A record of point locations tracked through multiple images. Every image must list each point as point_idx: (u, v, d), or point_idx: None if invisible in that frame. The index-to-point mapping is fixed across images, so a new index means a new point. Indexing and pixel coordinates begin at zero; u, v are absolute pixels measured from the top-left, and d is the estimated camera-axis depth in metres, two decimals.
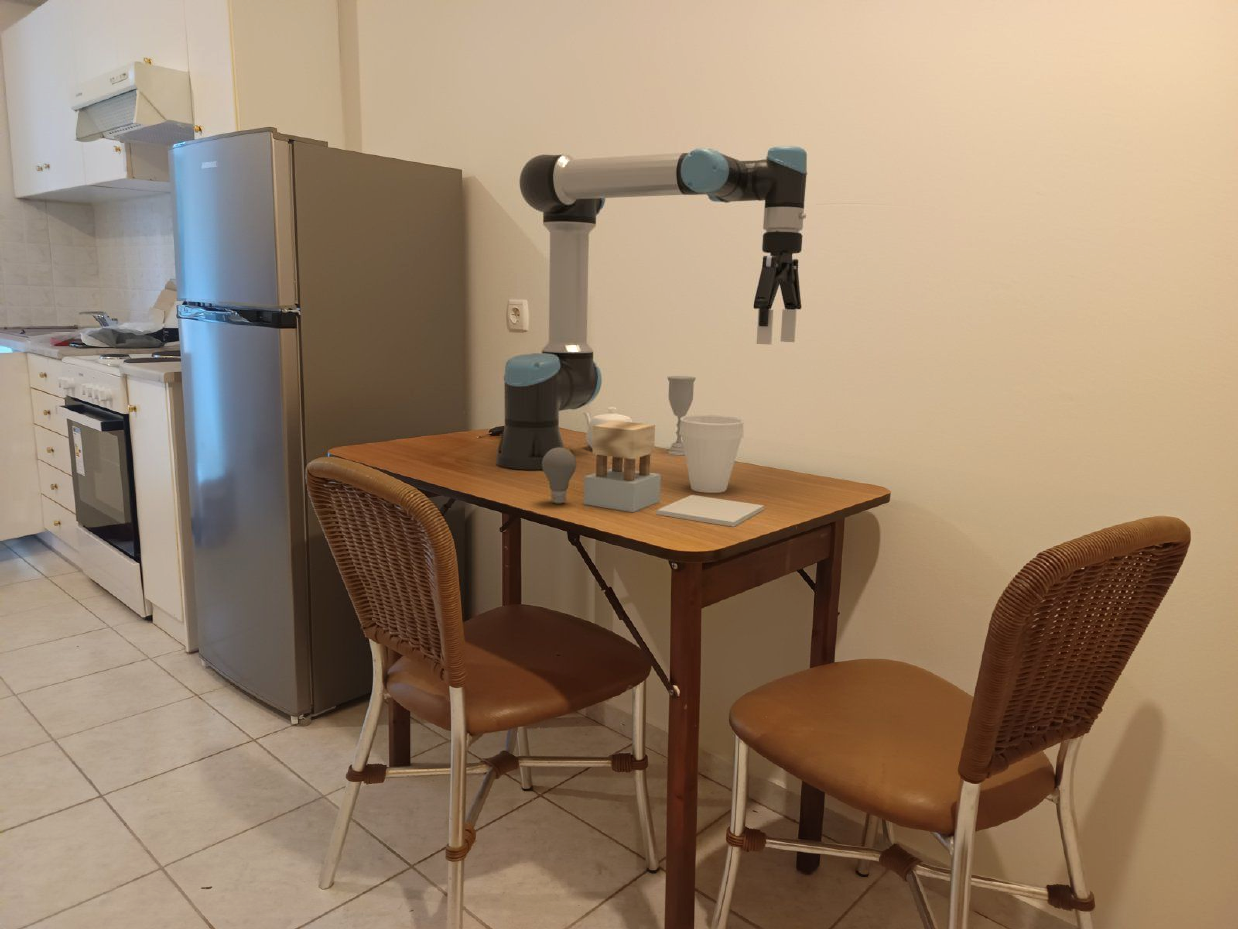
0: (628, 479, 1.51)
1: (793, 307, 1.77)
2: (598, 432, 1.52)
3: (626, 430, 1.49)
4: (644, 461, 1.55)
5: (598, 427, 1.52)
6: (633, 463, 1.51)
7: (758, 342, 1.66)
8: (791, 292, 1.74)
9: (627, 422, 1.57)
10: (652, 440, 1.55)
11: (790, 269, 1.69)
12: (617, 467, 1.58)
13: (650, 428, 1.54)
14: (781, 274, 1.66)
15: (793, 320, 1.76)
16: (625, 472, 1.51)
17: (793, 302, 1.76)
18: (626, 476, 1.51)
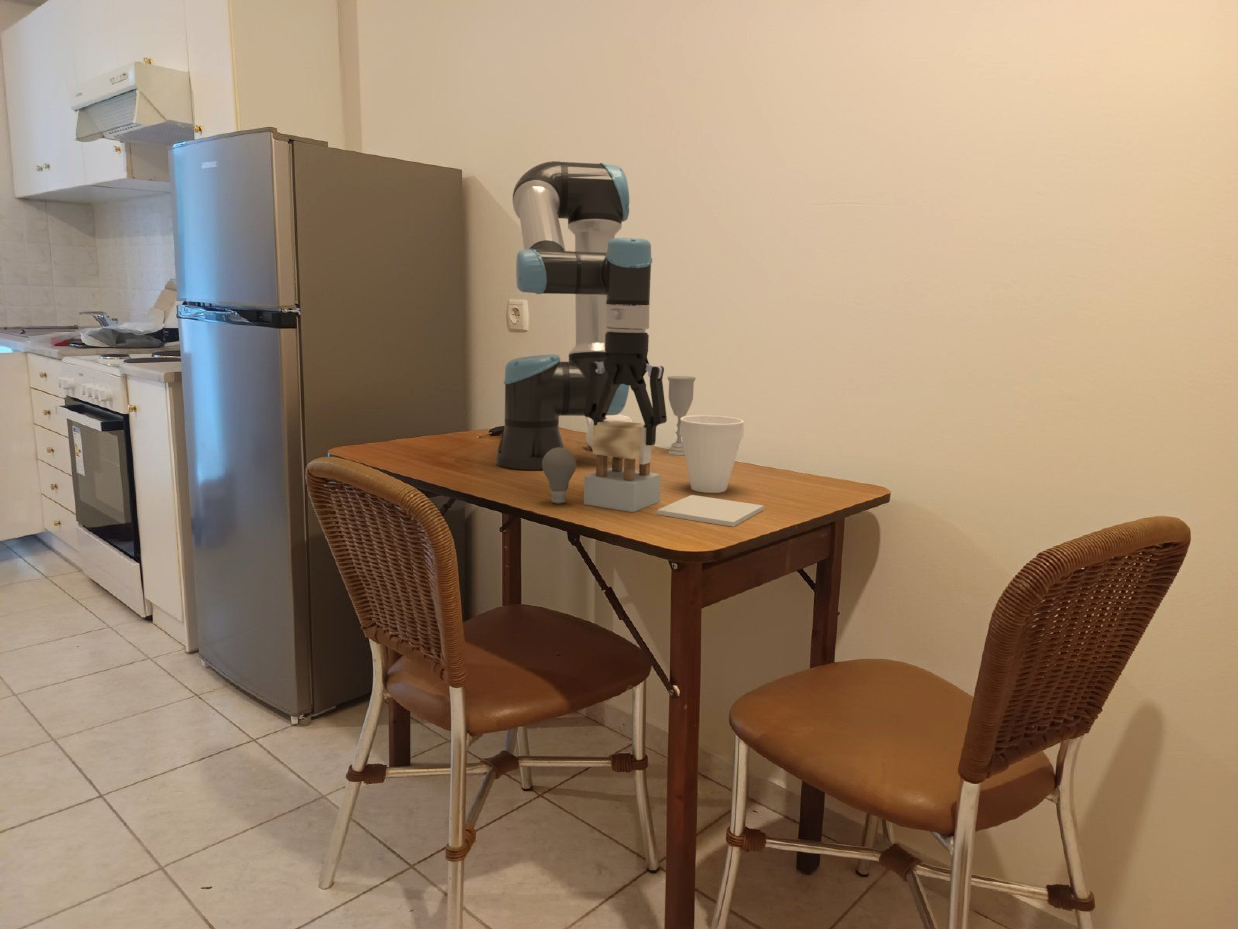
0: (628, 479, 1.51)
1: None
2: (598, 432, 1.52)
3: (626, 430, 1.49)
4: None
5: (598, 427, 1.52)
6: (633, 463, 1.51)
7: None
8: None
9: (627, 422, 1.57)
10: None
11: None
12: (617, 467, 1.58)
13: None
14: None
15: None
16: (625, 472, 1.51)
17: None
18: (626, 476, 1.51)
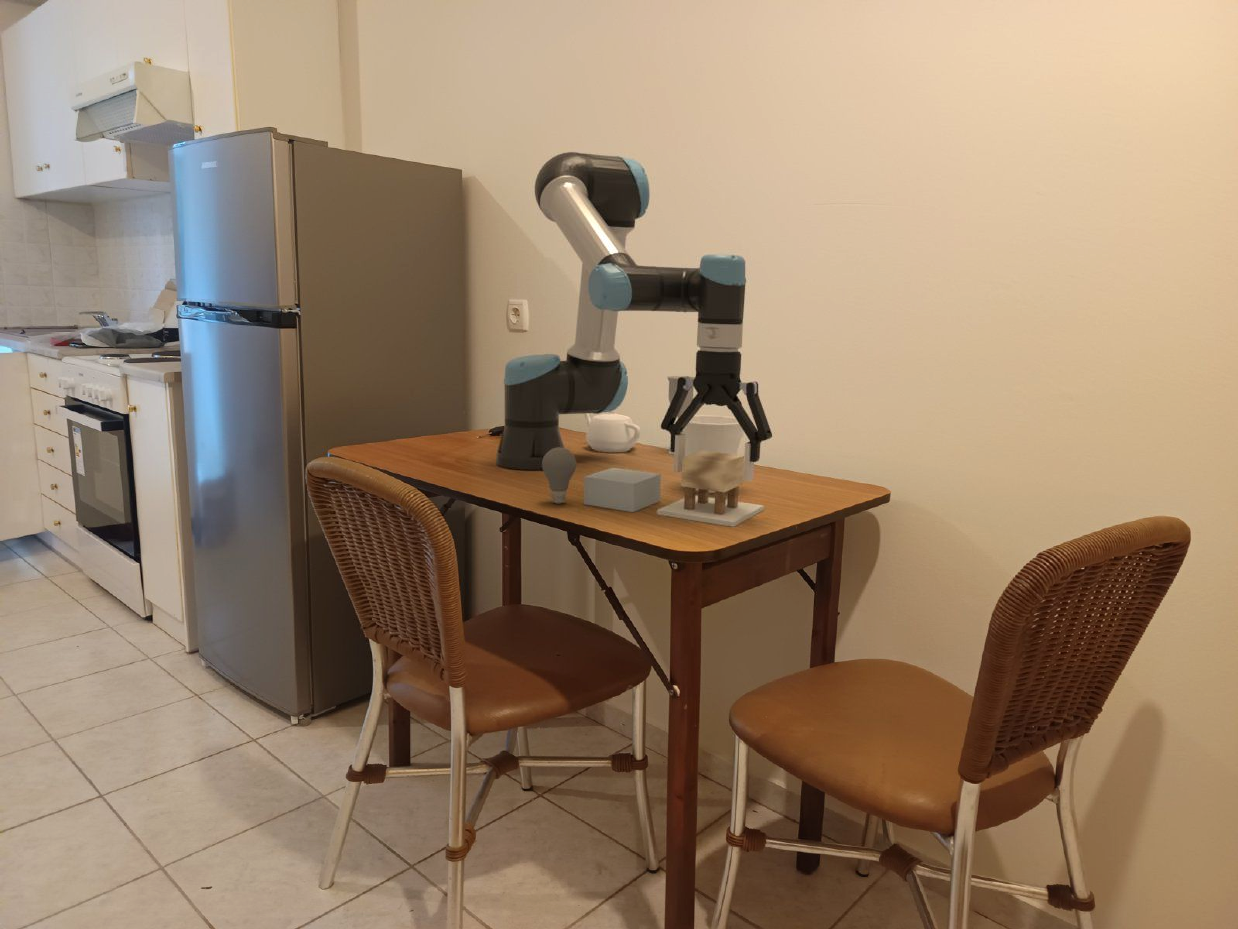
0: (719, 512, 1.46)
1: None
2: (687, 464, 1.47)
3: (718, 462, 1.45)
4: (733, 493, 1.51)
5: (688, 459, 1.47)
6: (724, 496, 1.47)
7: None
8: None
9: (714, 452, 1.53)
10: (741, 471, 1.51)
11: None
12: (703, 499, 1.54)
13: (740, 459, 1.49)
14: None
15: None
16: (715, 505, 1.47)
17: None
18: (717, 509, 1.47)
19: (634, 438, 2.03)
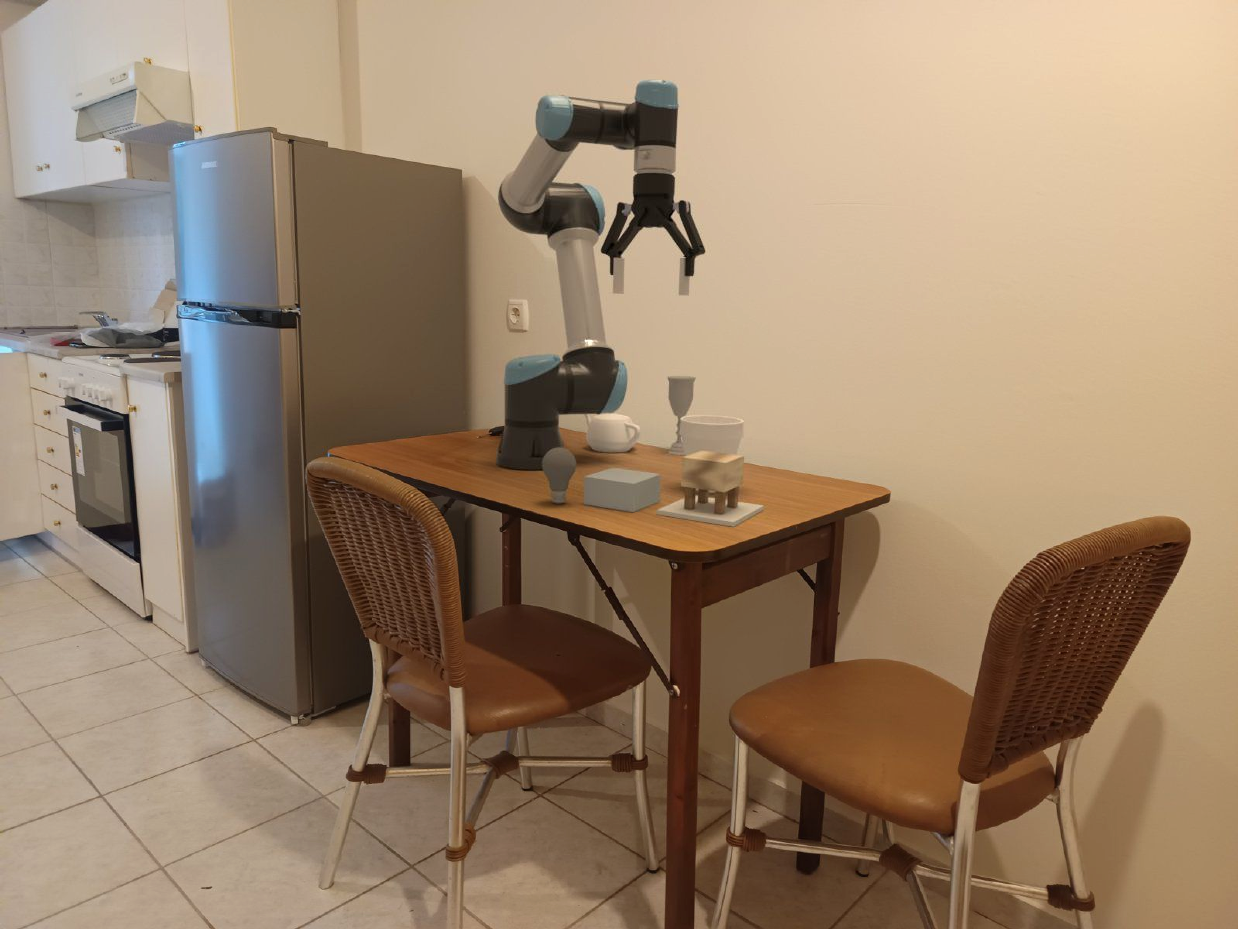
0: (719, 512, 1.46)
1: None
2: (687, 464, 1.47)
3: (718, 462, 1.45)
4: (733, 493, 1.51)
5: (688, 459, 1.47)
6: (724, 496, 1.47)
7: None
8: None
9: (714, 452, 1.53)
10: (741, 471, 1.51)
11: None
12: (703, 499, 1.54)
13: (740, 459, 1.49)
14: None
15: None
16: (715, 505, 1.47)
17: None
18: (717, 509, 1.47)
19: (634, 438, 2.03)
